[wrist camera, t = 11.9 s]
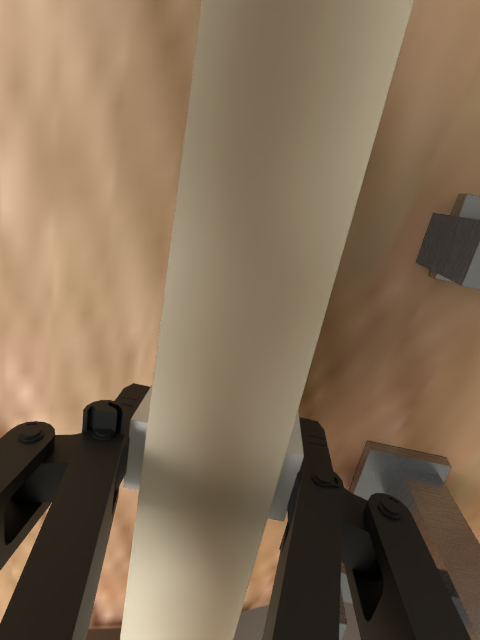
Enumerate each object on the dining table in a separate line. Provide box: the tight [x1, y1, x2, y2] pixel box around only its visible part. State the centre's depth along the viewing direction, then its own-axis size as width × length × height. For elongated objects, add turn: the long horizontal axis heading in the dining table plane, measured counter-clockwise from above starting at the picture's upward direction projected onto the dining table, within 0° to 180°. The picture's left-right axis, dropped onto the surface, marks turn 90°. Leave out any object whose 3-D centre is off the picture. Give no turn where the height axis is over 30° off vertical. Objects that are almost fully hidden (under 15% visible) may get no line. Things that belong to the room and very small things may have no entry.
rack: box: [339, 194, 480, 640], centre depth 19 cm, size 10×23×16 cm, turn 169°
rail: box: [120, 0, 414, 640], centre depth 14 cm, size 4×26×5 cm, turn 169°
